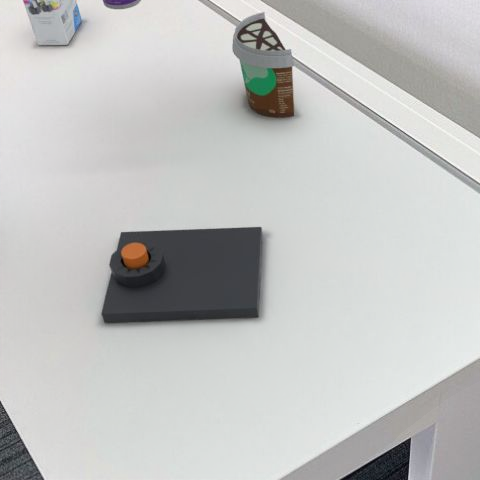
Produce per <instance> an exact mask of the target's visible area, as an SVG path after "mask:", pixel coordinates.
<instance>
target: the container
mask: <svg viewBox="0 0 480 480" xmlns="http://www.w3.org/2000/svg"><path fill="white" fill-rule="evenodd" d="M141 1H142V0H102V2H103V6H105V7H106V8H108V9H111V10H126V9H131V8H134V7H135V6H138V5H139V4H140V3H141Z"/></svg>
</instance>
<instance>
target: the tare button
mask: <svg viewBox="0 0 480 480" xmlns="http://www.w3.org/2000/svg"><path fill="white" fill-rule="evenodd" d="M121 254H122V258H123V261H124V264H125V266H126V267H127V268H129V269H138V268H141V267H143V266H146V265H147V264H148V262H149V257H148V254H147V250H146V247H145V246H144V245H143V244H141V243H131V244H128V245H126V246H125V247H124V248H123V249H122V251H121Z"/></svg>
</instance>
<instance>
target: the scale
mask: <svg viewBox="0 0 480 480" xmlns="http://www.w3.org/2000/svg"><path fill="white" fill-rule="evenodd" d="M119 234H120V235H119V239H118V243H117V247H116V250H115V251H114V252H113V253H112V254H111V256H110V260H109V264H108V265H109V268H110V277H109V280H108V285H107V288H106V292H105V296H104V300H103V306H102V309H101V313H100V315H101V318H102V321H103V322H104V324H117V323H119V324H120V323H141V322H144V323H145V322H166V321H167V322H169V321H192V320H193V321H194V320H215V319H216V320H217V319H219V320H220V319H221V320H222V319H247V318H259V313H260V296H261V295H260V293H261V277H262V276H261V274H262V255H263V238H264V235H263V227H262V226H246V227H243V226H241V227H219V228H218V227H217V228H194V229H191V228H190V229H189V228H188V229H166V230H165V229H164V230H163V229H162V230H137V231H121V232H120V233H119ZM131 243H141V244H143V245H144V246H145V247H146V250H147V254H148V257H149V262H148V264H147V265H146V266H143V267H141V268H138V269H129V268H127V267H126V266H125V264H124V261H123V258H122V254H121V251H122V249H123V248H124V247H125V246H126V245H128V244H131Z"/></svg>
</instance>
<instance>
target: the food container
mask: <svg viewBox="0 0 480 480" xmlns="http://www.w3.org/2000/svg"><path fill="white" fill-rule="evenodd" d="M231 50H232V53H233V55H234V56H235V57H236V58H237V59H238V60H239V65H240V70H241V74H242V78H243V83H244V89H245V93H246V99H247V103H248V106H249V108H250V109H251V110H252V111H253V112H255V113H256V114H258V115H260V116H264V117H269V118H290V117H294V116H295V104H294V103H295V99H294V77H293V67H294V60H293V54H292V48H289V49H286V48H285V46H284V45H283V43H282V41H281V39H280V37H279V36H278V34H277V32H275V30H274V29H272V28H271V26H270V25H269V24H268V22H267V20H266V13H265V11H262V12H258V13H255V14H252V15H250V16H248V17H246V18H244V19H243V20H241V21H240V22H239V23H238V24H237V25H236V27H235V28H234V32H233V36H232V49H231Z"/></svg>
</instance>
